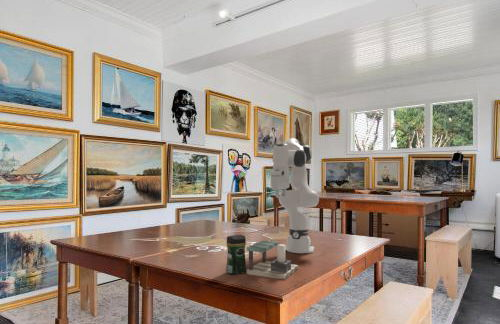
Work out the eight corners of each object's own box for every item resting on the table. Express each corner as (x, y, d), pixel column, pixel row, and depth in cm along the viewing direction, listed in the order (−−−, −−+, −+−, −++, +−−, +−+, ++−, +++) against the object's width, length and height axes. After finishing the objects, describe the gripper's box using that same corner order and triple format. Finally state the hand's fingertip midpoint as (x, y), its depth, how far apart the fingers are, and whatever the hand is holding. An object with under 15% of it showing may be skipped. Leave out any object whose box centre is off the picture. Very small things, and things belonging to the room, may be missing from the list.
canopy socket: (262, 264, 186) (262, 240, 186) (297, 269, 177) (298, 243, 178) (246, 273, 168) (247, 247, 168) (285, 279, 159) (285, 251, 160)
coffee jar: (239, 269, 176) (239, 233, 177) (248, 272, 170) (248, 235, 171) (223, 272, 171) (223, 234, 171) (232, 276, 164) (232, 237, 165)
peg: (278, 268, 171) (279, 244, 172) (286, 269, 170) (286, 244, 170) (276, 270, 168) (276, 245, 168) (283, 271, 166) (283, 246, 167)
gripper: (281, 172, 200) (281, 195, 200) (268, 172, 182) (268, 198, 181) (292, 172, 197) (292, 196, 197) (279, 172, 179) (279, 198, 179)
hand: (280, 197), depth 189 cm, fingers open, 8 cm apart
